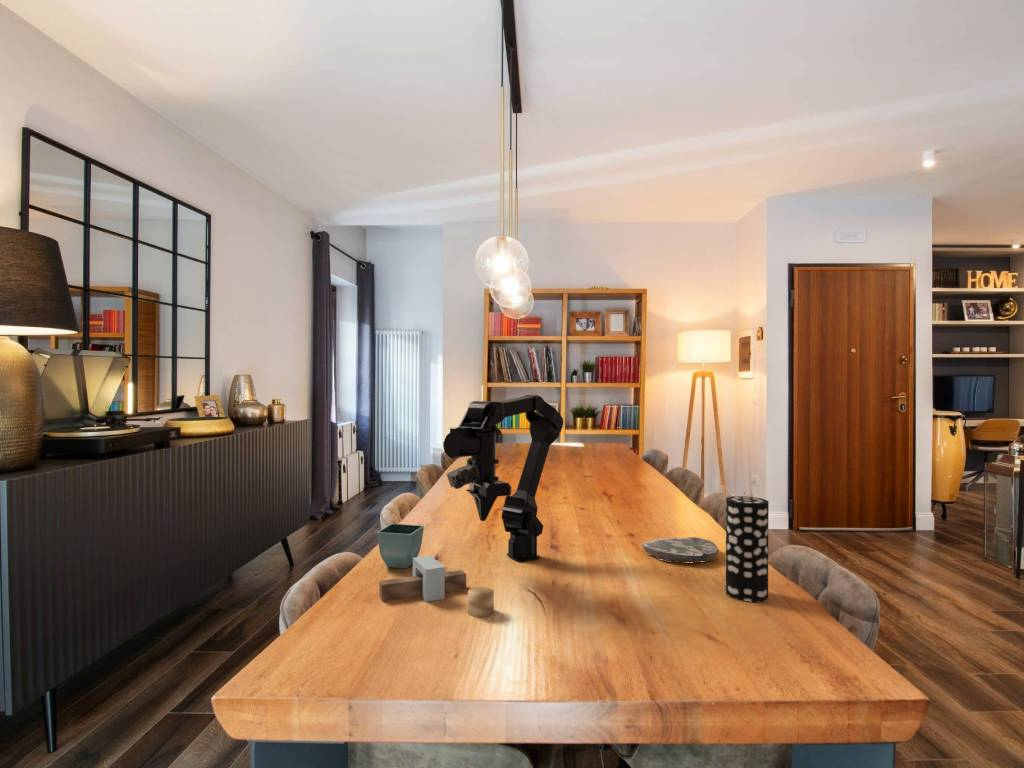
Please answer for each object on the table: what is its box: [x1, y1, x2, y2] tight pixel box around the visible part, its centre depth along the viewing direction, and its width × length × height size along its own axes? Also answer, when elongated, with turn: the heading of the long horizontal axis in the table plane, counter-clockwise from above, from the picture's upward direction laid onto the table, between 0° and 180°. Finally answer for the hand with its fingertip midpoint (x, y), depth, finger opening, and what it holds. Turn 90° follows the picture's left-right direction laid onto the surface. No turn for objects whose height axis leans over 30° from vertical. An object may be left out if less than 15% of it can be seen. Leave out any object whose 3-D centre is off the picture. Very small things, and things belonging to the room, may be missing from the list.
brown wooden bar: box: [378, 569, 467, 602], centre depth 122 cm, size 18×3×4 cm, turn 114°
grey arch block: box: [412, 555, 446, 602], centre depth 122 cm, size 4×9×6 cm, turn 27°
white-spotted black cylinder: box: [725, 495, 770, 603], centre depth 122 cm, size 8×8×20 cm
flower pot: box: [376, 523, 425, 569], centre depth 141 cm, size 9×9×9 cm
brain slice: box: [641, 536, 720, 564], centre depth 149 cm, size 20×17×3 cm
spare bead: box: [467, 586, 495, 618], centre depth 112 cm, size 5×5×4 cm
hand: (482, 520), depth 136 cm, fingers closed
